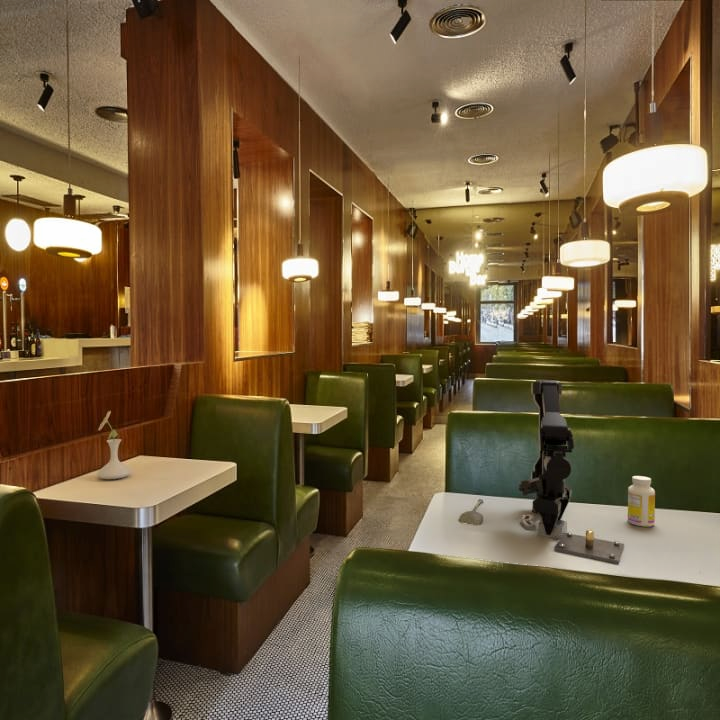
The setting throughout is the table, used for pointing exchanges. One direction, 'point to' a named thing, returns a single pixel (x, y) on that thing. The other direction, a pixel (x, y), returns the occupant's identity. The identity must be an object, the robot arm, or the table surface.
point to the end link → (554, 529)
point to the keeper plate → (590, 547)
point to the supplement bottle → (641, 502)
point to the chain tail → (528, 522)
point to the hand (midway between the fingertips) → (552, 529)
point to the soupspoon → (472, 516)
